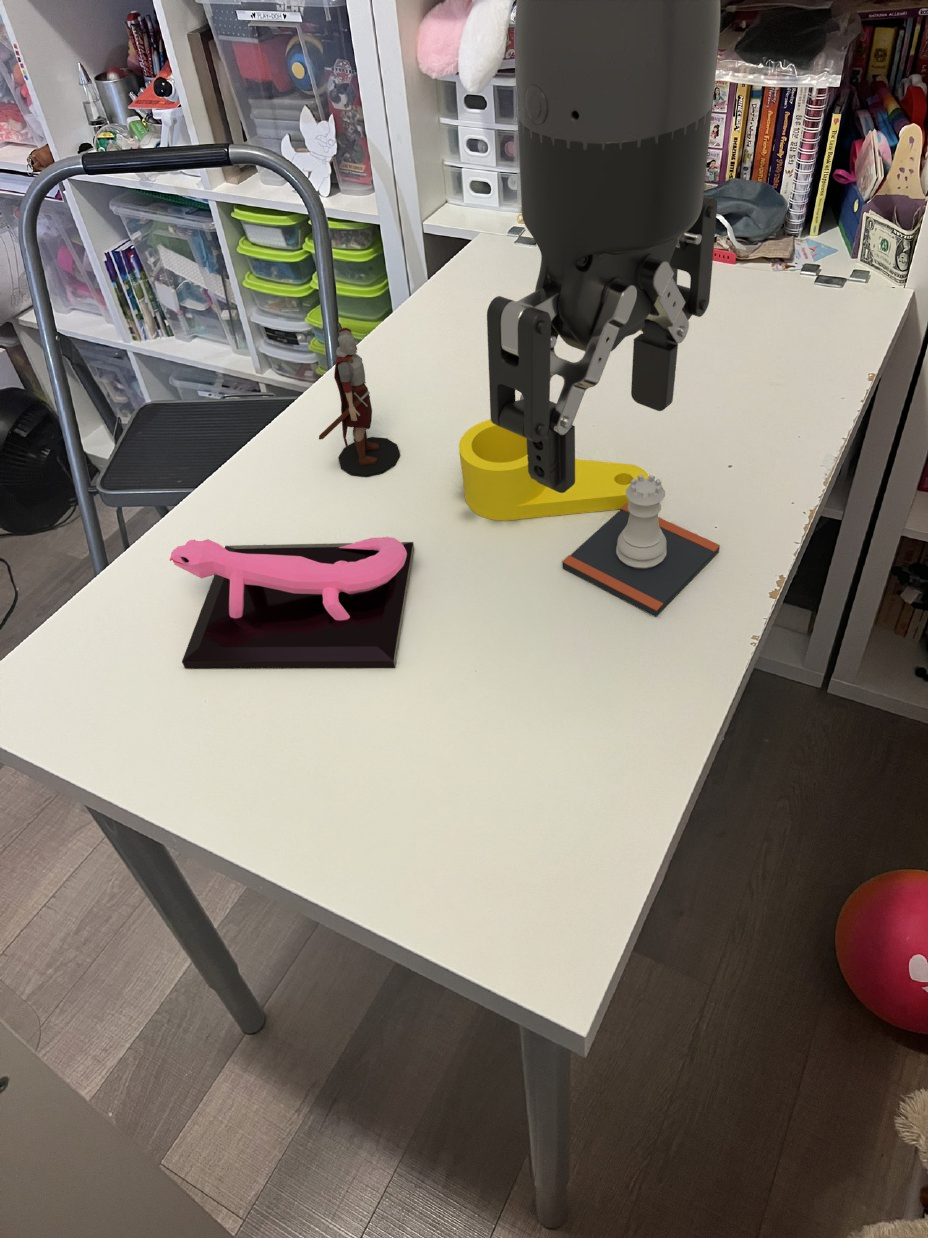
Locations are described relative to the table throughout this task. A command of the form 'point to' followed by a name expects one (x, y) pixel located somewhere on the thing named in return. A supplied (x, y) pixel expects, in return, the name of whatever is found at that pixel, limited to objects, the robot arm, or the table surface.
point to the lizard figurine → (298, 604)
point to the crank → (512, 494)
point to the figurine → (358, 416)
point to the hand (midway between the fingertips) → (604, 442)
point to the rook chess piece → (643, 525)
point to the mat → (641, 585)
